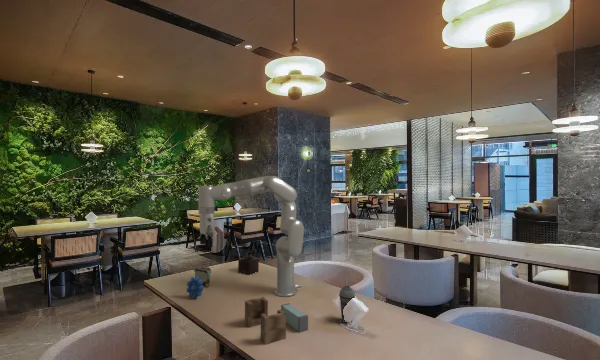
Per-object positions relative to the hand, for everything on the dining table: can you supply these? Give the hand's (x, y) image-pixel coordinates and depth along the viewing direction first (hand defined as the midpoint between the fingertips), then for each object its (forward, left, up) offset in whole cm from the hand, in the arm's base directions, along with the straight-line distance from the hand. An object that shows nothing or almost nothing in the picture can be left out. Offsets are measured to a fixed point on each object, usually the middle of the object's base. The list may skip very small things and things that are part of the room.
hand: (206, 245), depth 154 cm
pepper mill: (-44, -47, -32) cm, 72 cm away
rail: (-29, +36, -31) cm, 56 cm away
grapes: (0, -18, -31) cm, 36 cm away
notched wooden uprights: (-15, +35, -31) cm, 49 cm away
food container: (-10, -38, -32) cm, 50 cm away
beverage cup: (-51, +46, -31) cm, 76 cm away
